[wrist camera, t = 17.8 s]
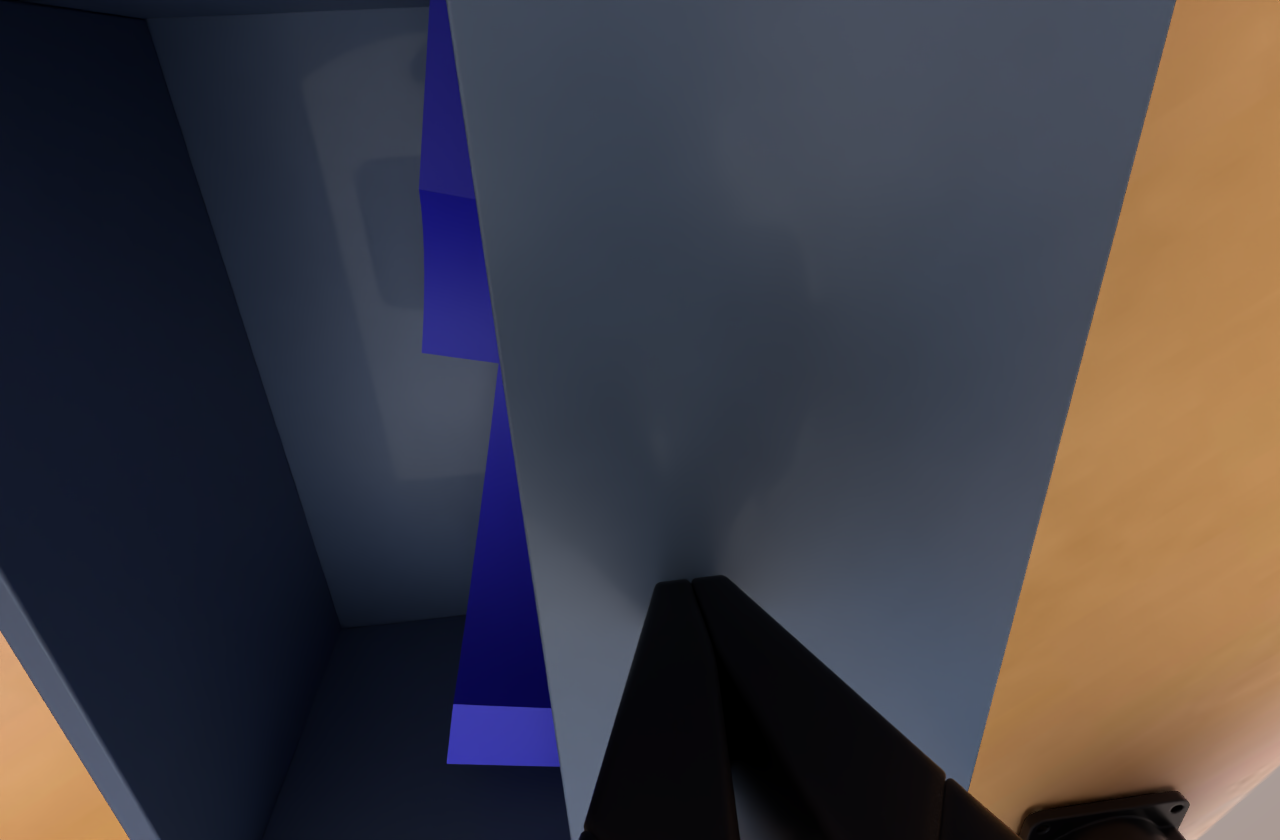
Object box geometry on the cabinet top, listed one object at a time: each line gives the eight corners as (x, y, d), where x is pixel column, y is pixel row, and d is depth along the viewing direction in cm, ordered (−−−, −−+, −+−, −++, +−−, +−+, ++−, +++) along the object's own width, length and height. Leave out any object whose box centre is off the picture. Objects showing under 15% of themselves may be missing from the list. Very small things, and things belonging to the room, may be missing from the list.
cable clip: (455, 13, 12) (385, -34, 7) (694, 69, 13) (793, 63, 8) (416, 551, 17) (358, 761, 12) (592, 566, 18) (610, 767, 13)
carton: (832, -33, 13) (1162, -162, 6) (791, 577, 20) (924, 852, 13) (125, -5, 12) (-472, -121, 5) (334, 630, 19) (205, 963, 12)
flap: (1188, -166, 6) (1225, -180, 5) (932, 874, 12) (941, 894, 12) (429, -149, 5) (421, -162, 5) (586, 928, 12) (587, 951, 12)
